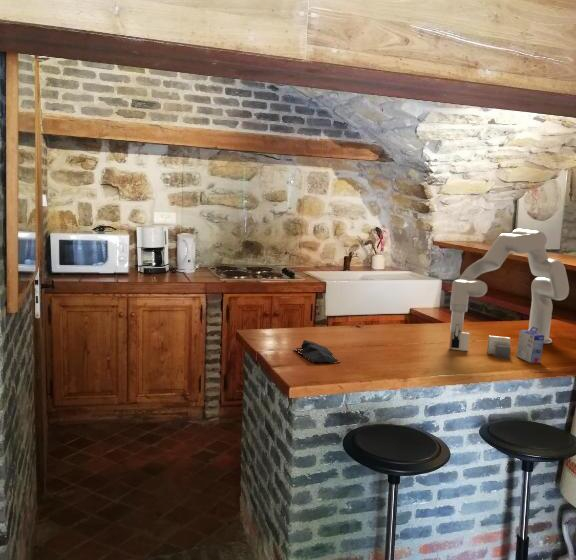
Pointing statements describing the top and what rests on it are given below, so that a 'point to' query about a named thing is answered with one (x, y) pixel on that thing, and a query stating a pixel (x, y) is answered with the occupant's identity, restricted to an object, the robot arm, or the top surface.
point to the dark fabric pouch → (316, 352)
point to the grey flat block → (461, 341)
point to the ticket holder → (499, 346)
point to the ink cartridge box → (530, 345)
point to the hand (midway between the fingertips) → (455, 346)
